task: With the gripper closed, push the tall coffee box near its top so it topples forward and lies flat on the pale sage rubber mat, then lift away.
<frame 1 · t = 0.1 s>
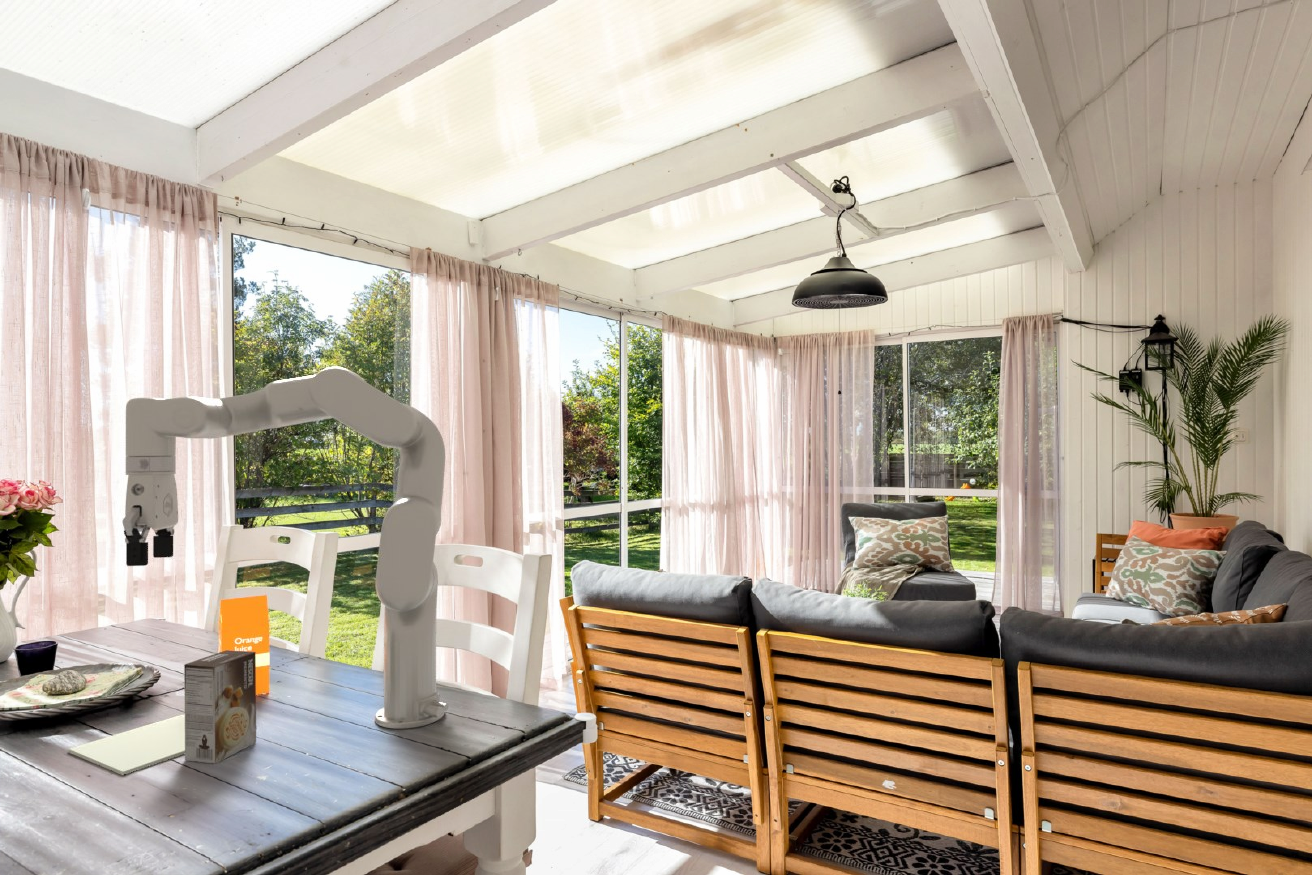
hand: (150, 561, 135), 31 cm above the table, tool pointing down, fingers open, 9 cm apart
orange juice: (243, 693, 158), on the table
mat: (166, 740, 132), on the table
coffee box: (221, 752, 127), on the table
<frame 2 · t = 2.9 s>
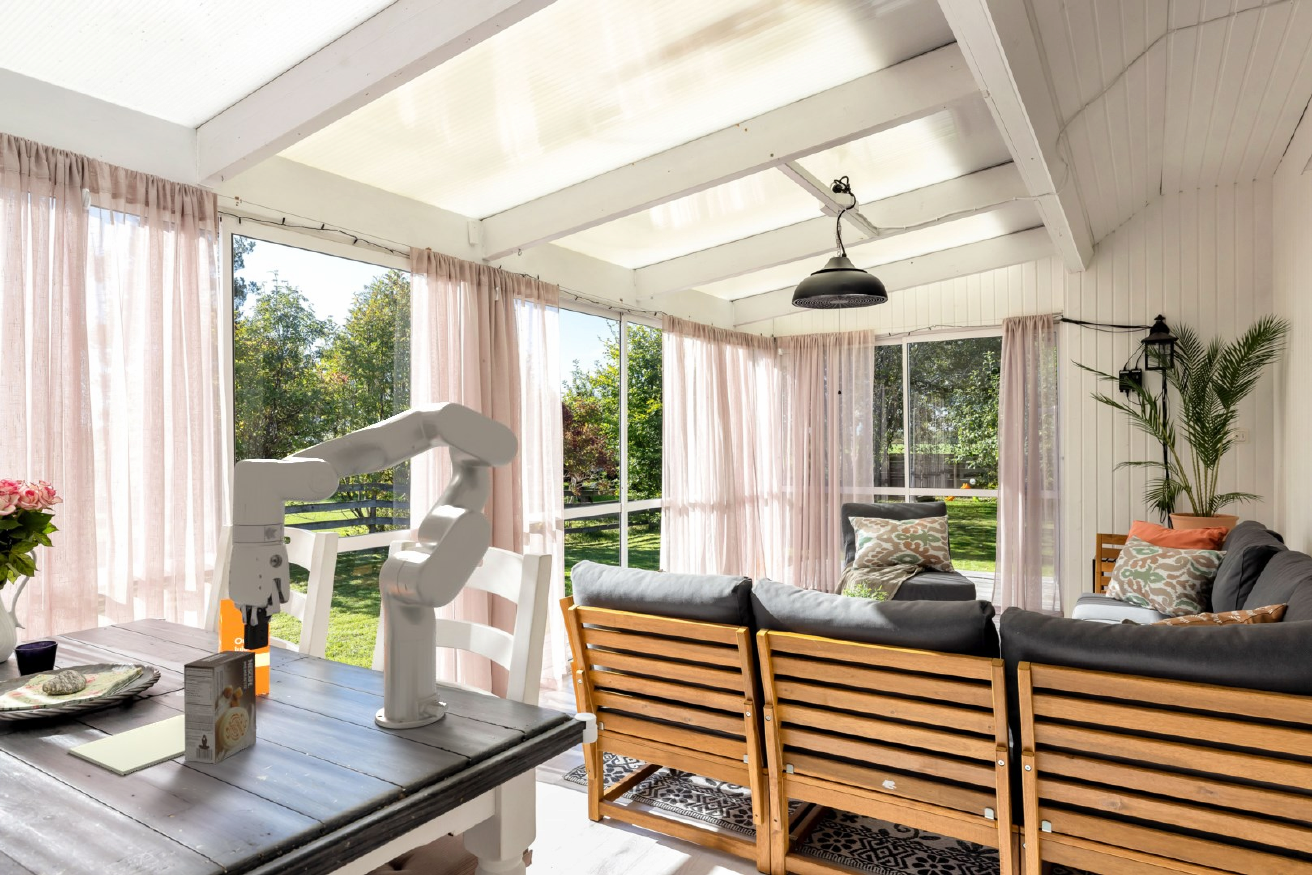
hand: (256, 647, 122), 19 cm above the table, tool pointing down, fingers closed
nothing on the table moved.
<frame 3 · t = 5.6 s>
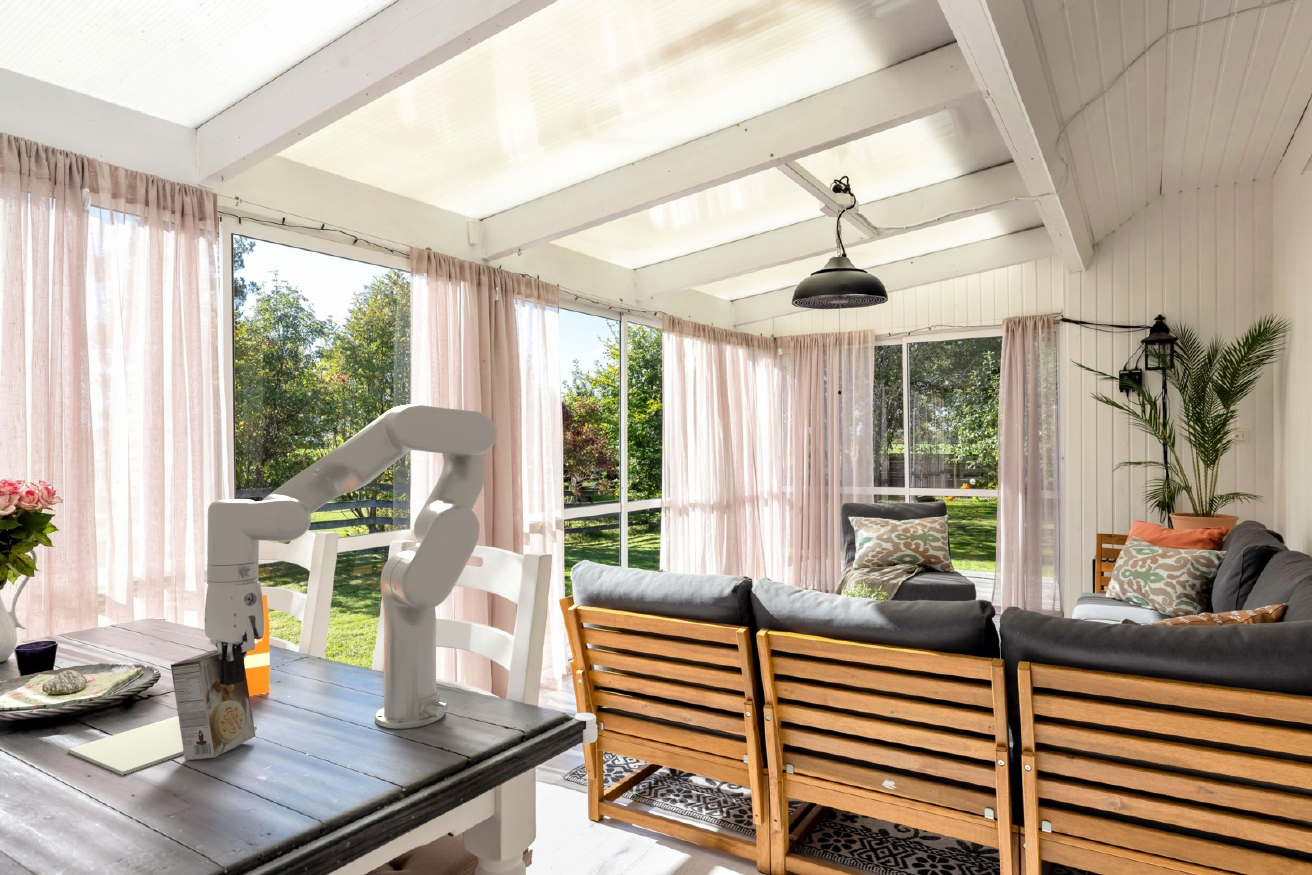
hand: (232, 682, 126), 12 cm above the table, tool pointing down, fingers closed
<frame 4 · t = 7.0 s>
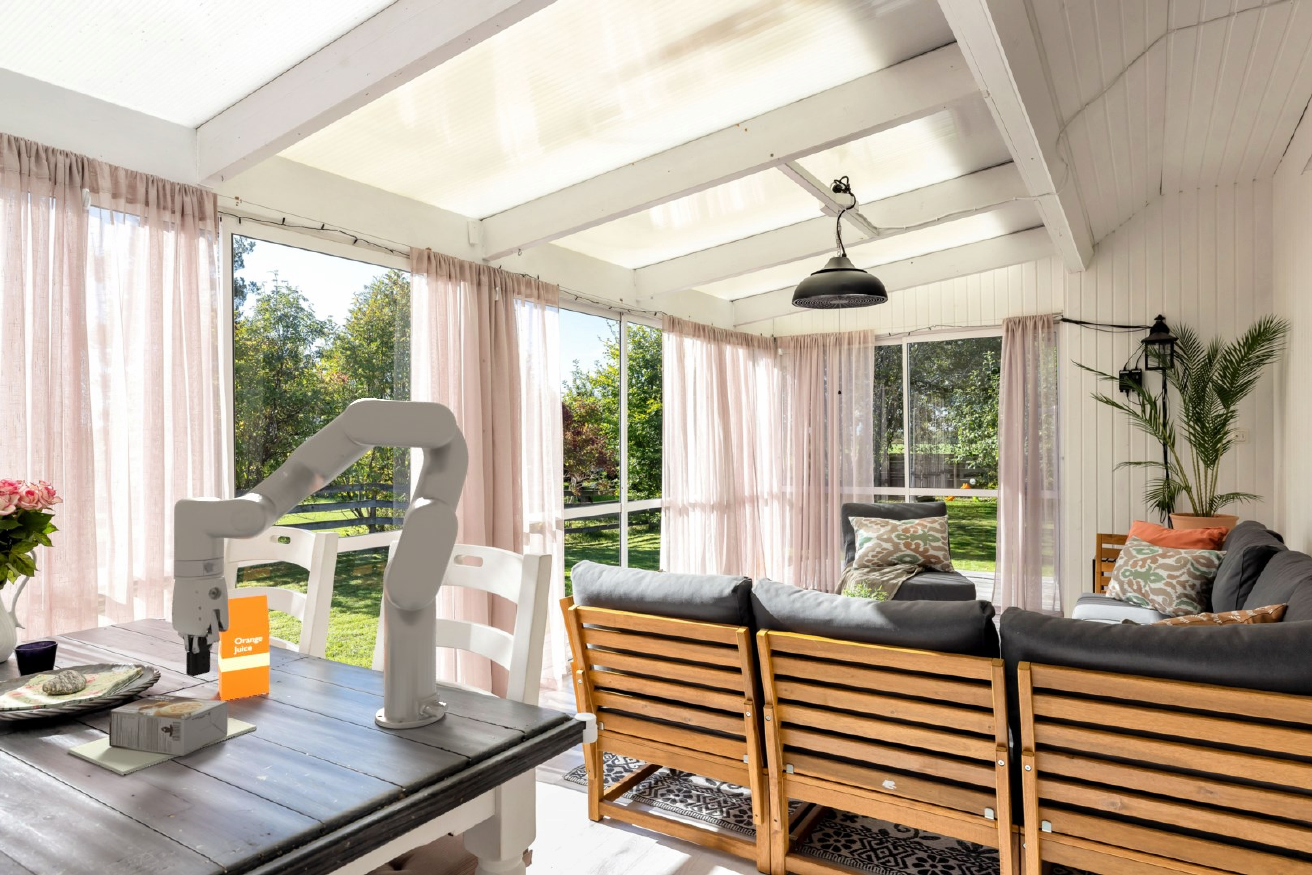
hand: (198, 673, 131), 12 cm above the table, tool pointing down, fingers closed
coffee box: (207, 728, 128), point 4 cm above the table, touching mat
everything else where it was.
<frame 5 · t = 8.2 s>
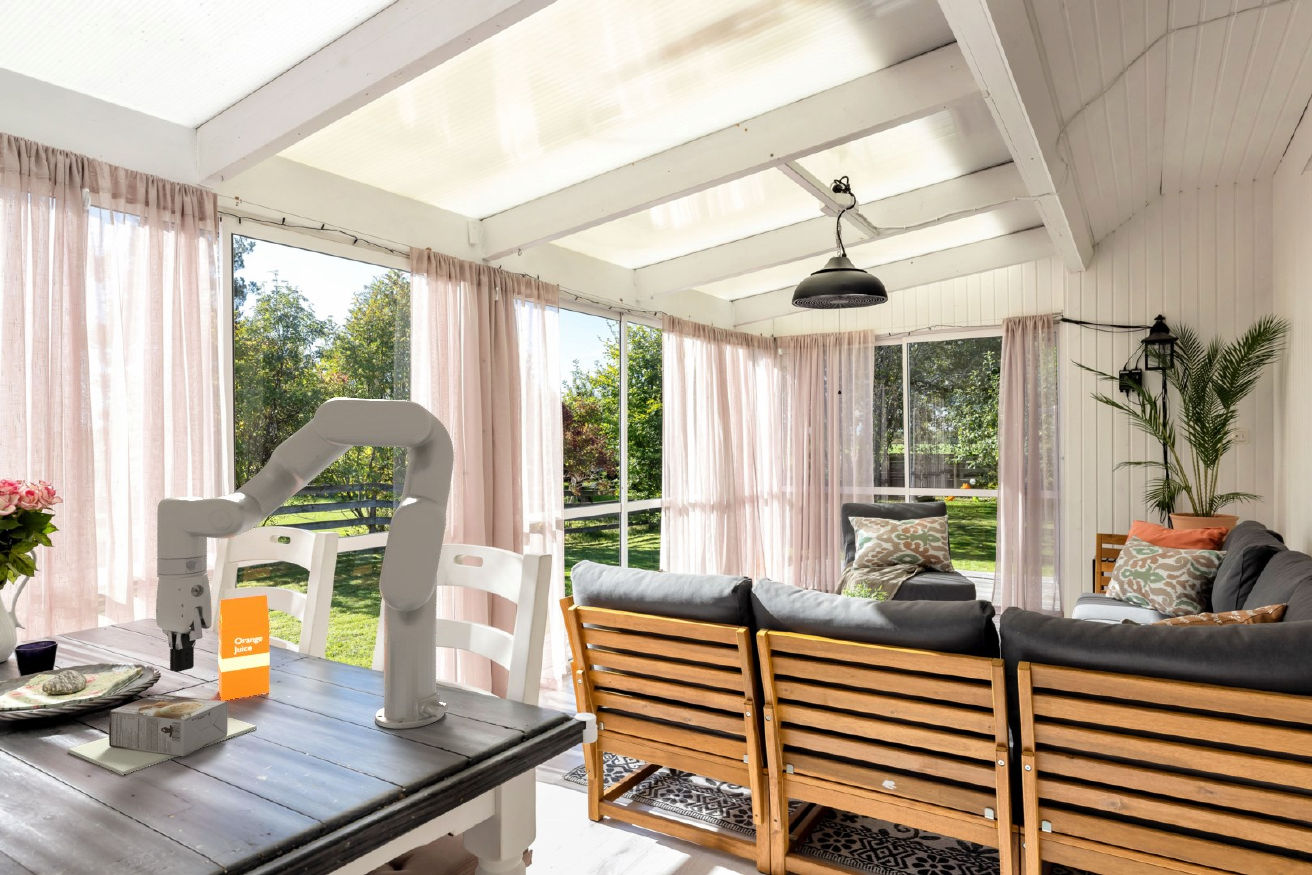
hand: (181, 669, 133), 12 cm above the table, tool pointing down, fingers closed
nothing on the table moved.
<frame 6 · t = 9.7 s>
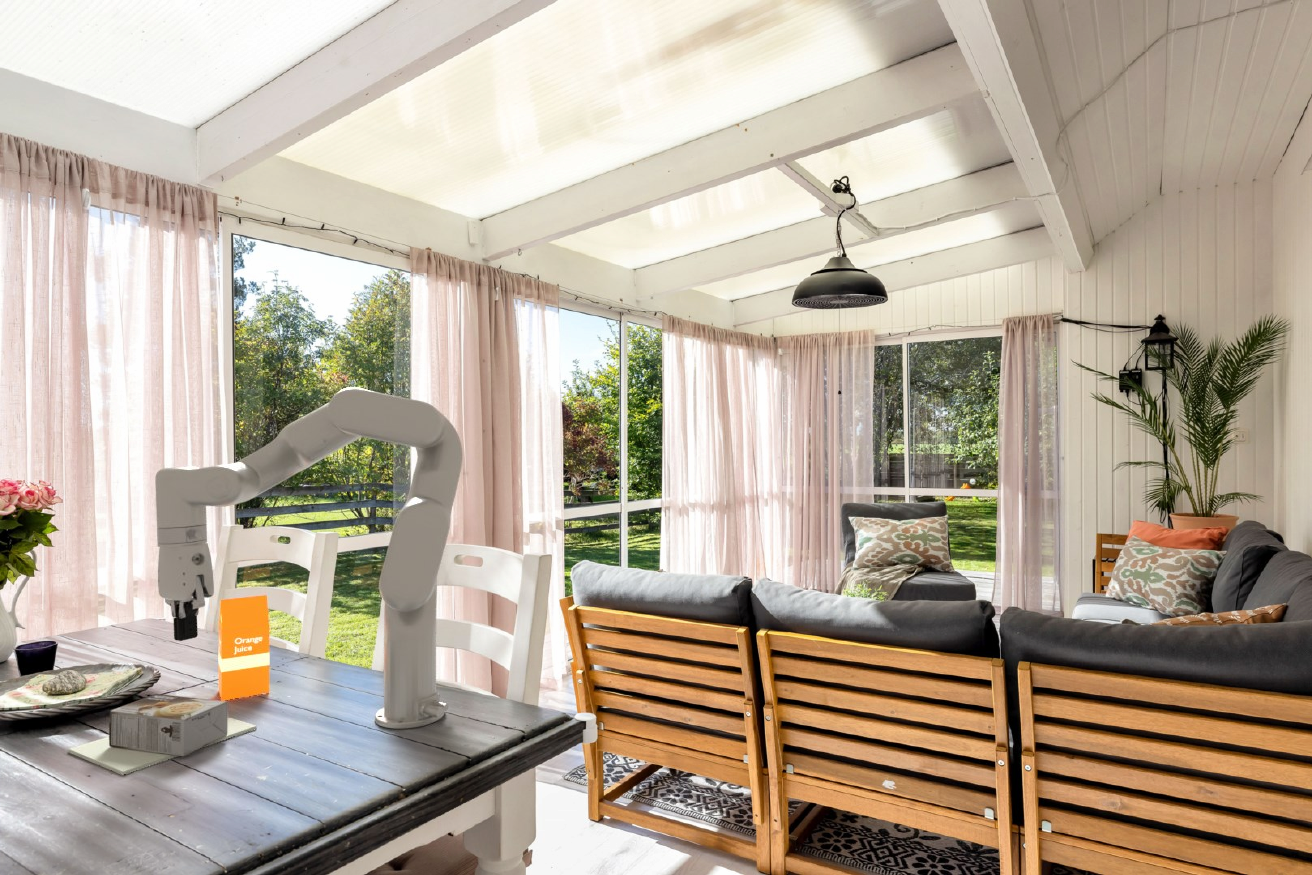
hand: (186, 638, 134), 18 cm above the table, tool pointing down, fingers closed
nothing on the table moved.
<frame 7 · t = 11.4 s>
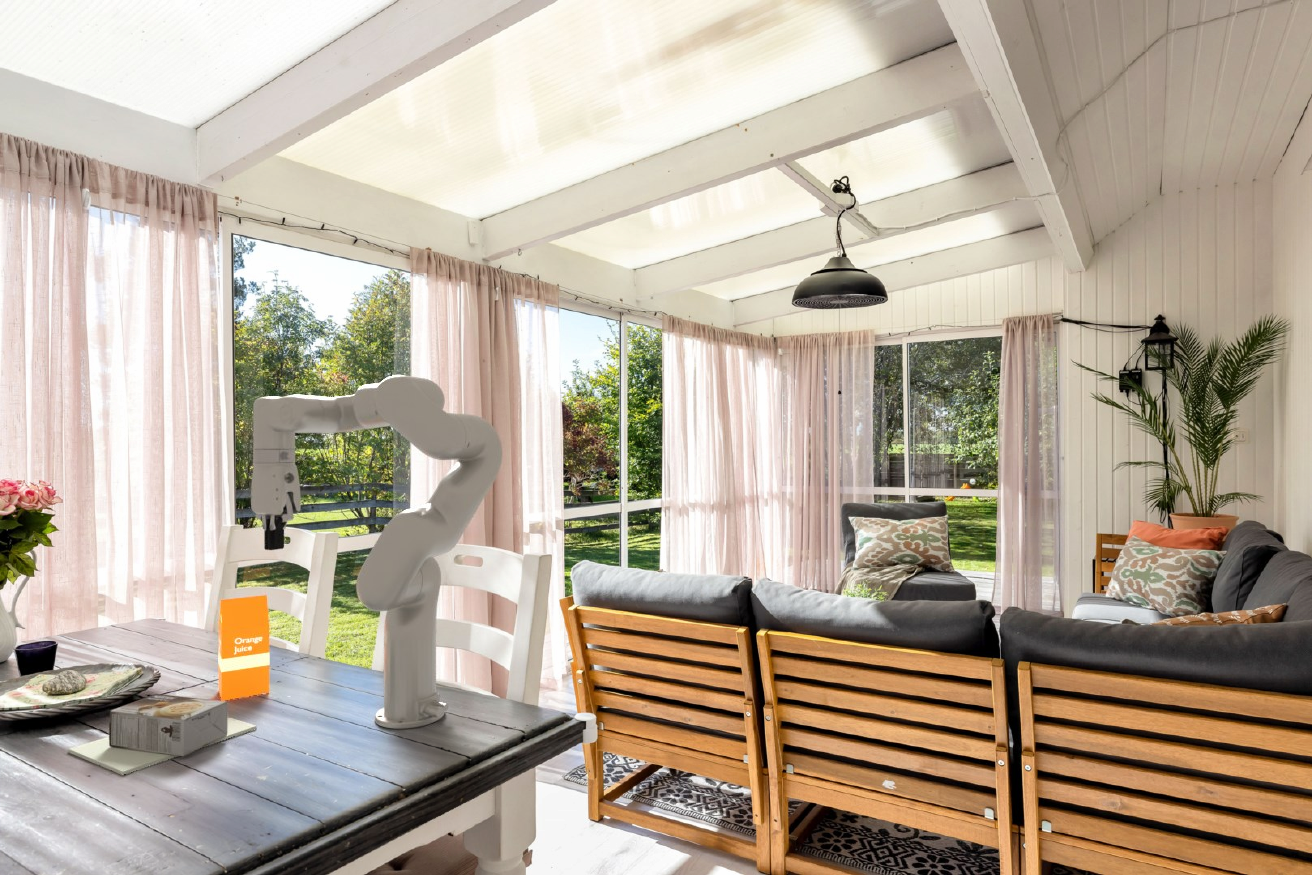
hand: (274, 548, 151), 31 cm above the table, tool pointing down, fingers closed
nothing on the table moved.
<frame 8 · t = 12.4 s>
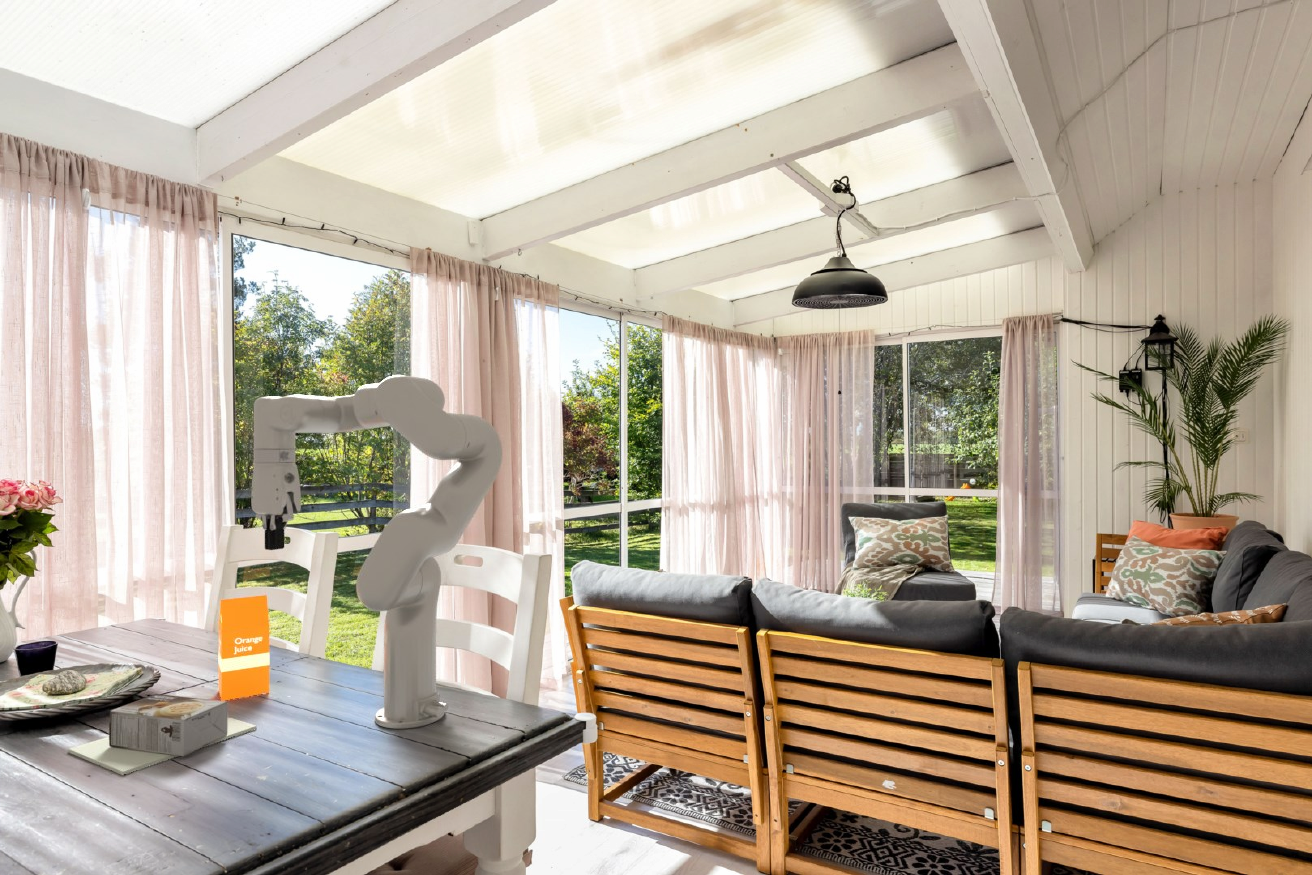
hand: (274, 548, 151), 31 cm above the table, tool pointing down, fingers closed
nothing on the table moved.
at the end: coffee box tilted 90°; coffee box touching mat; coffee box inside the target area (6.0 cm from its centre), point 3.8 cm above the table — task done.
